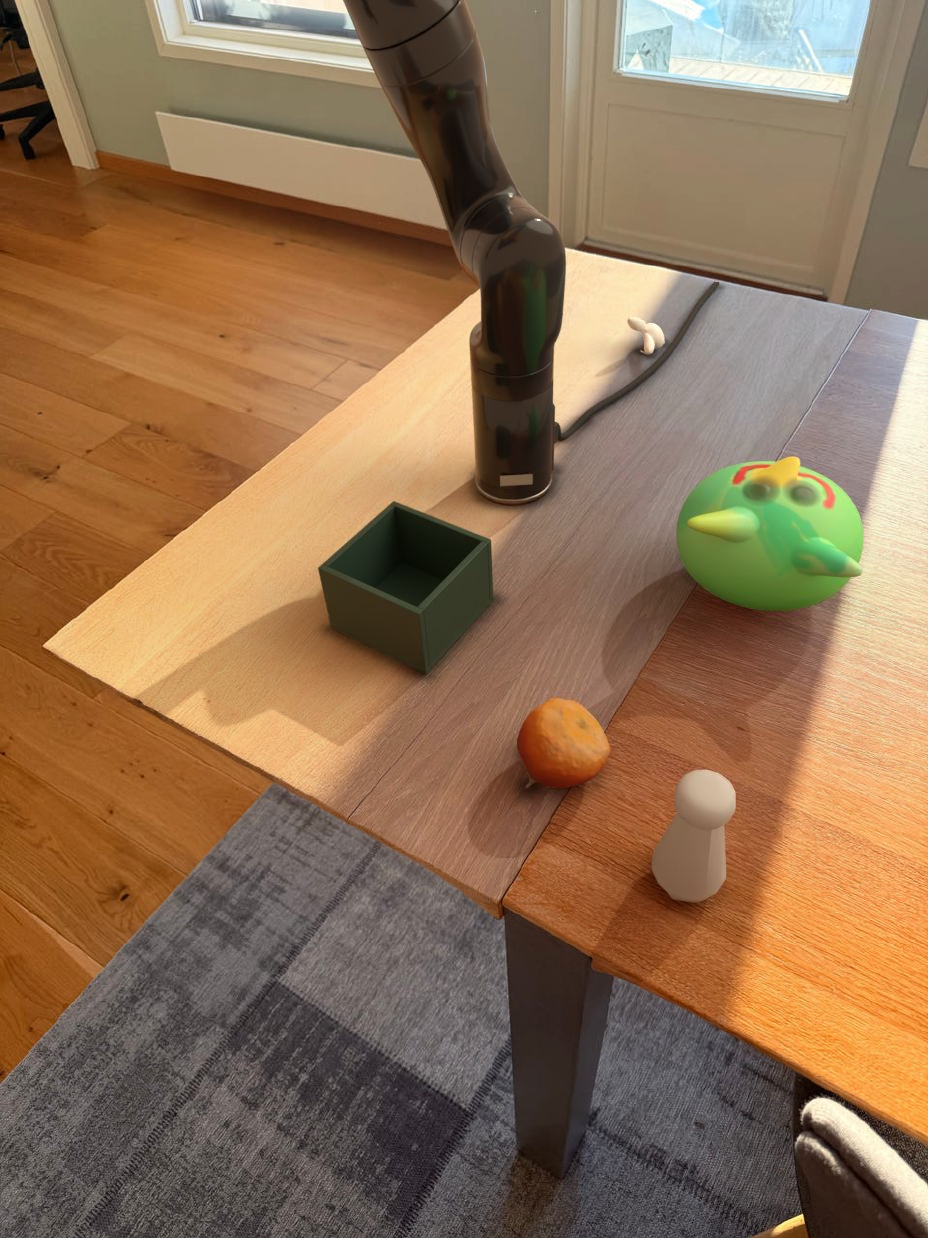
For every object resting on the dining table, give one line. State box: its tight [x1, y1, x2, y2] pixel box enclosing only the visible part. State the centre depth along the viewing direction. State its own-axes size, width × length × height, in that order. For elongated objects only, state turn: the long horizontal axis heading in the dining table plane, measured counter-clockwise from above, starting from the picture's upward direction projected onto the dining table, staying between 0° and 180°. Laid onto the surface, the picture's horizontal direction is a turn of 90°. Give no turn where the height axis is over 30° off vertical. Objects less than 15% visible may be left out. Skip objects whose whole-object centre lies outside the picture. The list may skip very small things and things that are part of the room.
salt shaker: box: [651, 769, 737, 904], centre depth 69 cm, size 6×6×13 cm
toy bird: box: [675, 455, 865, 612], centre depth 91 cm, size 18×17×15 cm
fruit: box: [516, 697, 612, 790], centre depth 79 cm, size 8×8×8 cm
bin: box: [317, 500, 494, 675], centre depth 93 cm, size 12×12×9 cm
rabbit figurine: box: [626, 316, 666, 356], centre depth 130 cm, size 6×4×8 cm
